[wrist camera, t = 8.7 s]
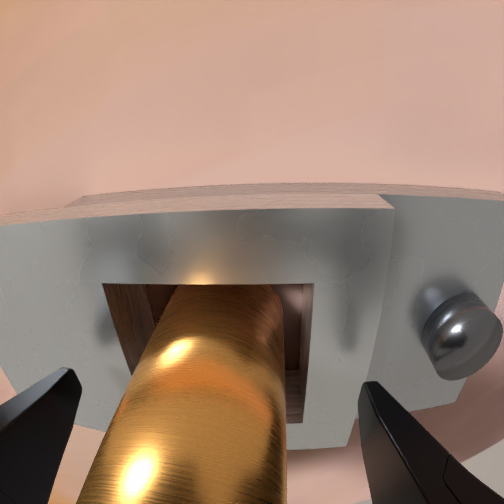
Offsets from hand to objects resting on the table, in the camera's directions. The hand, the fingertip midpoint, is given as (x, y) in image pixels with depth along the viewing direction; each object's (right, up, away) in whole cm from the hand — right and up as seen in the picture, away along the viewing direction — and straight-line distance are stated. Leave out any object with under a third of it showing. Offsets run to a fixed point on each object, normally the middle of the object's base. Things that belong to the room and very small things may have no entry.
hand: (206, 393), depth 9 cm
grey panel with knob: (0, +2, +4) cm, 4 cm away
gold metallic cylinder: (0, +2, +4) cm, 4 cm away
